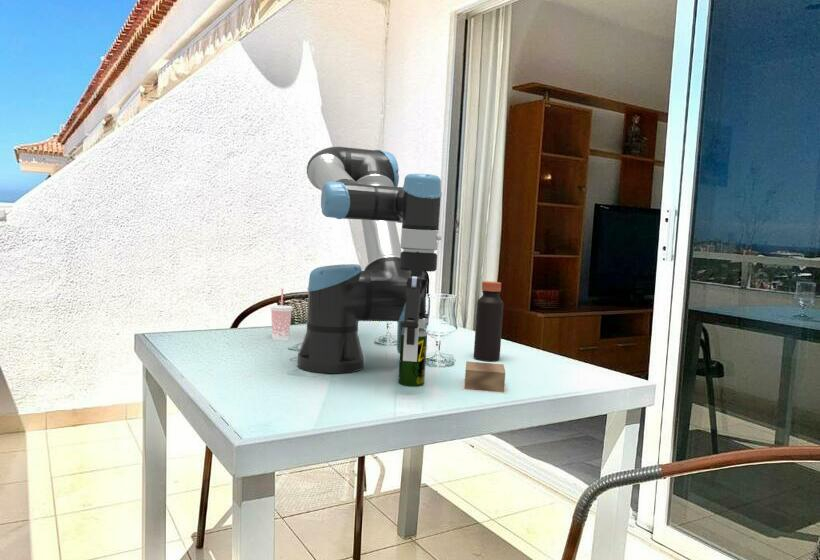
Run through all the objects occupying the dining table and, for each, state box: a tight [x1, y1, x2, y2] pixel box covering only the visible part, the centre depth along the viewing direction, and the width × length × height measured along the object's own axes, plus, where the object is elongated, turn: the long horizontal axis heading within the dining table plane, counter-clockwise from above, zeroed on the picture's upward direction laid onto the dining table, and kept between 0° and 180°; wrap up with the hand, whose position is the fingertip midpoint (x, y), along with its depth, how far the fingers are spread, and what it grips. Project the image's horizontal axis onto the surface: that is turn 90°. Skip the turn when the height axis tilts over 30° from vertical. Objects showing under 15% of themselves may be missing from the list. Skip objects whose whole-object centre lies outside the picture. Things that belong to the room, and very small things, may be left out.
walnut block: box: [464, 361, 506, 393], centre depth 126 cm, size 8×8×4 cm
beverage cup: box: [270, 288, 294, 341], centre depth 168 cm, size 6×6×14 cm
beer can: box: [397, 327, 428, 388], centre depth 125 cm, size 5×5×12 cm
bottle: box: [473, 280, 504, 362], centre depth 156 cm, size 7×7×20 cm
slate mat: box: [461, 378, 507, 394], centre depth 127 cm, size 16×10×1 cm, turn 84°
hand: (413, 354), depth 124 cm, fingers open, 13 cm apart
